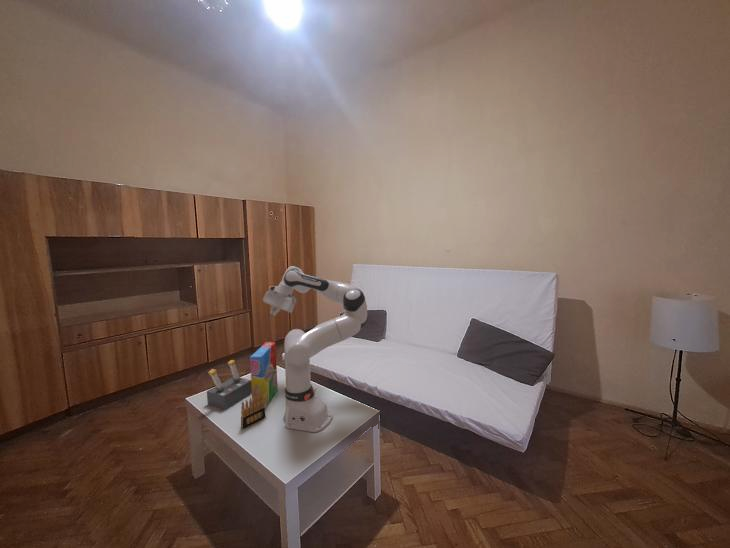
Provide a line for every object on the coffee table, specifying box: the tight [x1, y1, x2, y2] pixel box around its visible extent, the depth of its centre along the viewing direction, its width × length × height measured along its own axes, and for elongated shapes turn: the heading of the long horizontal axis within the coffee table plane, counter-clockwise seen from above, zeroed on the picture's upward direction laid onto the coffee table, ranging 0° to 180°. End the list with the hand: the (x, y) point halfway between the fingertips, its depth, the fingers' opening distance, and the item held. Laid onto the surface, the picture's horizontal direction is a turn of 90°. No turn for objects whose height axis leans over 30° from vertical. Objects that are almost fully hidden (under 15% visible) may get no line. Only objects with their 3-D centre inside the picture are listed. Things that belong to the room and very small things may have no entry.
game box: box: [249, 341, 279, 410], centre depth 143 cm, size 21×6×27 cm, turn 179°
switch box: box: [206, 377, 252, 411], centre depth 146 cm, size 12×17×7 cm
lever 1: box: [207, 368, 225, 391], centre depth 139 cm, size 3×2×12 cm
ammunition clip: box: [240, 393, 267, 430], centre depth 126 cm, size 11×2×12 cm, turn 140°
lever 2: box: [227, 359, 242, 382], centre depth 148 cm, size 3×2×12 cm
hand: (272, 314), depth 159 cm, fingers closed
